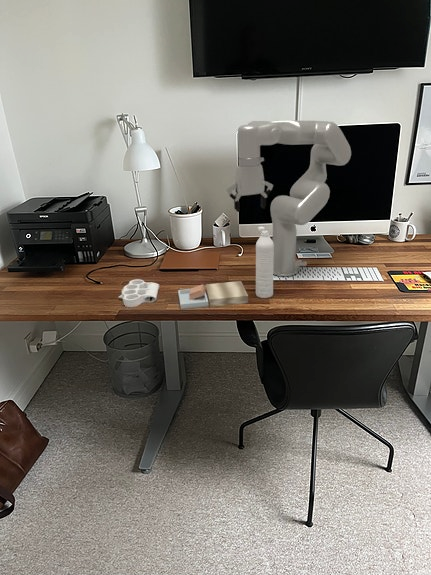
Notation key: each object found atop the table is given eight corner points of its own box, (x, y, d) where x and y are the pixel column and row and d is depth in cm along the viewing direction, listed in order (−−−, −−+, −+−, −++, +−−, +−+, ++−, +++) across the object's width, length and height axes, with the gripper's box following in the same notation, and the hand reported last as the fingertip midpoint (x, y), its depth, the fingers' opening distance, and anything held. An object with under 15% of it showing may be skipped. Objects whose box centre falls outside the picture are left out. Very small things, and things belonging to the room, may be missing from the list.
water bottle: (275, 297, 167) (276, 233, 156) (258, 299, 166) (258, 235, 155) (268, 287, 175) (269, 225, 164) (252, 289, 174) (251, 227, 163)
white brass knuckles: (155, 307, 165) (115, 308, 165) (160, 285, 181) (124, 287, 181) (154, 299, 163) (114, 300, 163) (159, 278, 179) (122, 279, 179)
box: (204, 292, 173) (204, 287, 172) (208, 306, 162) (208, 301, 161) (178, 294, 172) (178, 290, 171) (180, 309, 161) (180, 304, 160)
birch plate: (241, 287, 175) (240, 280, 174) (248, 303, 163) (248, 295, 162) (205, 291, 174) (205, 284, 172) (210, 307, 162) (209, 299, 161)
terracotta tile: (205, 289, 170) (203, 284, 169) (203, 295, 165) (200, 290, 164) (193, 293, 171) (191, 288, 170) (191, 299, 167) (188, 294, 166)
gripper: (269, 158, 163) (269, 204, 170) (222, 162, 160) (225, 209, 167) (276, 161, 156) (276, 209, 164) (228, 166, 153) (230, 215, 161)
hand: (250, 209), depth 165 cm, fingers open, 9 cm apart
